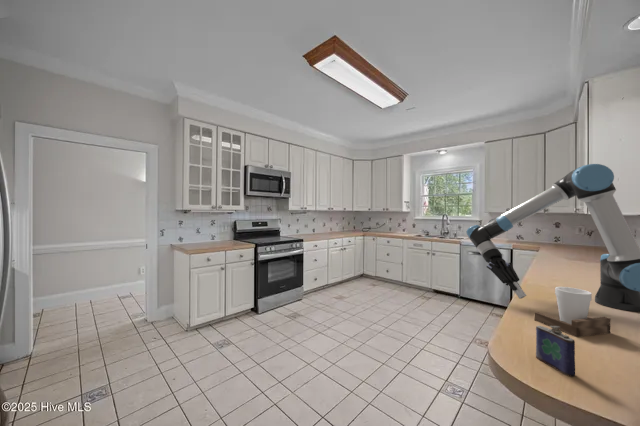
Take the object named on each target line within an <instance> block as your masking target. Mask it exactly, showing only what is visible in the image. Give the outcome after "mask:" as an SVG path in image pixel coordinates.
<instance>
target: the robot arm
mask: <svg viewBox="0 0 640 426" xmlns="http://www.w3.org/2000/svg"><path fill="white" fill-rule="evenodd" d="M614 179H615V175H614V171H613V170H612V169H611V168H610V167H609V166H606V165H604V164H601V163H589V164H584V165H581V166H579V167H577V168H576V169H574V170H572V171H569V173H567V174H566V175H565V176H563V177H562V178H560V179H558V180H557V181H556V182H553V183H552V184H551V186H550V187H549V188H547V189H546V190H544V191H542V192H540V193H538V194H537V195H535V196H533V197H531V198H529V199H527V200H526V201H524V202H522V203H520V204H518V205H516V206H514V207H513V208H511V209H509V210H507V211H505V212H504V213H502V214H501V215H498V216H496V217H494V218H492V219H490V220H489V221H488V222H487V223H486V224H484V225H479V224H474V225H471V226H470V227H468V228H467V230H466V235H467V236H468V238H469V240H470V241H471V243H472V244H473V245H474V247H475V248H476V249H477V251H478V252H479V253H480V255H481V256H482V258H483V259H484V261H485V262H486V263H487V265H486V268H487V269H489V270H490V271H491V272H492V273H493V275H495V276H496V277H497V279H499V281H500V282H501V283H503V285H504V284H505V286H506V287H507V286H509V287H510V289H511V290H512V291H513V292H514V293H515V295H516V296H517V297H518V299H523V298H525V297H526V296H527V294H526V293H525V291H524V290H523V289H522V286H520V284H519V283H518V282H519V281H520V278H519V276H518V274H517V272H516V270H515V269H514V267H513V263H512V262H507V261H506V260H505V259H504V258H503V253H501V251H500V250H499V249H498V247H497V246H496V245H495V244H494V242H493V241H492V240H493V239H494V238H496V237H498V236H499V235H500V236H501V235H502V234H504V233H505V232H508V231H510V230H512V229H513V228H514V225H516V224H519V223H520V222H522V221H524V220H526V219H528V218H530V217H532V216H533V215H536V214H538V213H539V212H541V211H544V210H545V209H547V208H549V207H551V206H553V205H555V204H557V203H559V202H561V201H563V200H564V201H565V200H567V201H568V200H570V199H571V198H573V197H577V200H578V201H581V202H583V203H585V206H586V208H587V210H588V212H589V214H590V216H591V218H592V221H593V223H594V224H595V226H596V228H597V230H598V233H599V235H600V237H601V239H602V242H603V243H604V245H605V247H606V250H607V251H608V253H603V254H601V255H600V260H599V262H600V271H599V272H600V278H599V279H600V285H599V287H598V290H597V291H596V293H595V296H594V302H595V303H596V304H599V305H601V306H606V307H608V308H613V309H616V310H617V309H619V310H623V311H629V312H631V311H632V312H640V246H639V245H638V242H637V240H636V238H635V237H634V234H633V232H632V231H631V228H630V226H629V224H628V222H627V220H626V218H625V216H624V214H623V213H622V210H621V208H620V206H619V205H618V202H617V201H616V198H615V197H614V194H615V192H616V191H617V188H616V187H615V185H614Z"/></svg>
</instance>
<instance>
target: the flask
mask: <svg viewBox="0 0 640 426" xmlns="http://www.w3.org/2000/svg"><path fill="white" fill-rule="evenodd" d="M549 327H550V328H548V327H546V326H542V325H536V326H535V331H536V332H535V333H536V335H535V337H536V340H535V341H536V342H535V343H536V344H535V345H536V347H535V357H536V358H537V360H538V361H541V362H543V363H545V364H546V365H548V366H549V367H551V368H553V369H555V370H557V371H559V372H560V373H562V374H564V375H565V376H568V377H571V378H575V377H576V359H575V357H576V353H575V352H576V351H575V350H576V346H575V345H576V341H575V339H573V338H572V337H570V336H569V335H567V334H564V333H563V331H560V330H558V327H559V326H549Z"/></svg>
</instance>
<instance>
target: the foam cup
mask: <svg viewBox="0 0 640 426" xmlns="http://www.w3.org/2000/svg"><path fill="white" fill-rule="evenodd" d="M554 295H555V297H556V303H557V309H558V316H559V320H561V321H564V322H566V323H569V324H572V320H577V319H587V317H589V310H590V305H591V301H592V300H593V299H592V296H593V295H592V292H591V291H588V290H585V289H582V288H576V287H569V286H555V288H554Z"/></svg>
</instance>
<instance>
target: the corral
mask: <svg viewBox="0 0 640 426" xmlns="http://www.w3.org/2000/svg"><path fill="white" fill-rule="evenodd" d="M534 321H536V322H538V323H540V324H543V325H545V326H548V327H550V326H559V327H558V330H560V331H561V332H562V333H566V334H568V335H571V336H573V337H576V338H580V337H590V336H597V335H598V336H599V335H605V334H606V335H607V334H611V318H609V317H606V316H600V317H589V316H587V319H577V320H572V324H569V323H566V322H564V321H561V320H560V319H559V318H554V317H552V316H549V315H546V314H543V313H541V312H537V311H536V312H534Z"/></svg>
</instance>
